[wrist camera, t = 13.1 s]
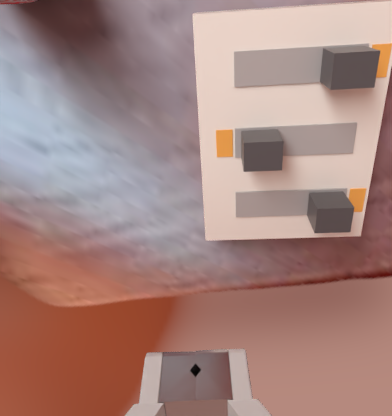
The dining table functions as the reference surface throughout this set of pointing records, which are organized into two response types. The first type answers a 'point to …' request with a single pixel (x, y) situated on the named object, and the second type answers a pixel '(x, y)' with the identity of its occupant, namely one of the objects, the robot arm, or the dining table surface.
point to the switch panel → (286, 114)
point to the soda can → (15, 1)
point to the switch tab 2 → (349, 67)
